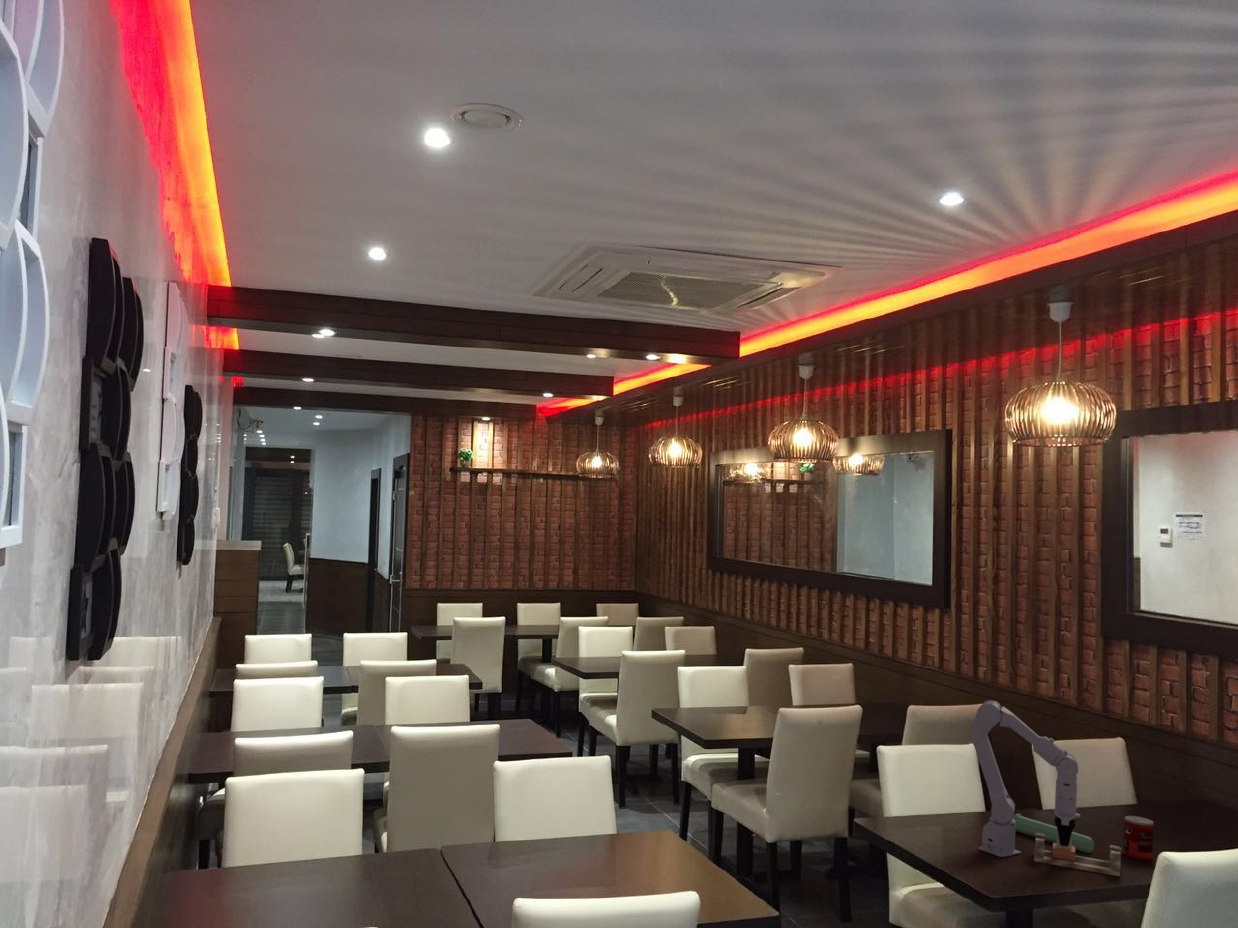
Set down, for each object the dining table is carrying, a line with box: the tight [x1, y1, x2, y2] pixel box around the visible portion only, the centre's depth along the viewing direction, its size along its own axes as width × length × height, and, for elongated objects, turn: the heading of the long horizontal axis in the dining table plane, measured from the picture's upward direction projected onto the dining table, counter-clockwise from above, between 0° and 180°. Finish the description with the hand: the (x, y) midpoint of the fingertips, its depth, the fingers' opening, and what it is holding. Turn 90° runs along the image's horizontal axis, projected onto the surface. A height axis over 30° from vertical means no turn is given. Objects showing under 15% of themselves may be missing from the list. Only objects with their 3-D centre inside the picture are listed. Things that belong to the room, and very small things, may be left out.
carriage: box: [1052, 829, 1076, 861], centre depth 298 cm, size 6×6×8 cm
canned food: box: [1123, 815, 1155, 861], centre depth 309 cm, size 8×8×11 cm
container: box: [1013, 813, 1095, 854], centre depth 318 cm, size 6×6×25 cm
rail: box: [1033, 833, 1123, 877], centre depth 297 cm, size 23×8×7 cm, turn 66°
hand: (1064, 844), depth 298 cm, fingers closed on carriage, 2 cm apart
